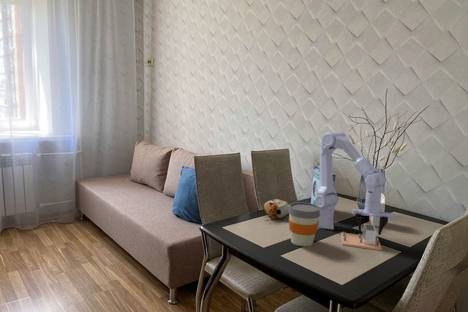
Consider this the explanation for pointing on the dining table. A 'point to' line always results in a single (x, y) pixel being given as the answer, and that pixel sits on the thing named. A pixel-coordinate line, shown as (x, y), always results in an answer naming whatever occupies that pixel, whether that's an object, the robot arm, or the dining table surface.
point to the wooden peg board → (358, 241)
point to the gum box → (317, 183)
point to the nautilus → (276, 208)
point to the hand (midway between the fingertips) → (369, 232)
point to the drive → (369, 234)
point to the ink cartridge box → (376, 220)
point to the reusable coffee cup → (303, 223)
